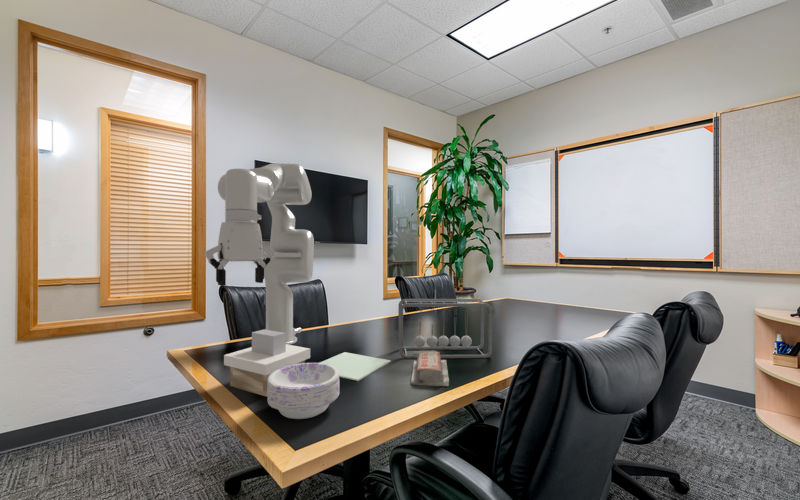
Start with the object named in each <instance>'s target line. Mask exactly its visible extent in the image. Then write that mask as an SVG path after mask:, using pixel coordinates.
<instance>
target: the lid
mask: <svg viewBox="0 0 800 500" xmlns="http://www.w3.org/2000/svg"><path fill="white" fill-rule="evenodd" d="M308 359H311V348H308V347H303V346H297V345H293V344H290V345H288V344H286V333H283V332H277V331H271V330H266V328H264V329H260V330H255V331H252V332H251V346H250V347H247V348H244V349H240V350H237V351H234V352H230V353H226V354H224V355H223V366H226V367H234V368H238V369H242V370H246V371H250V372H254V373H258V374H262V375H268V374H271V373H273V372H274V371H276V370H278V369H280V368H283V367H286V366H290V365H294V364H296V363H299V362H301V361H304V360H305V361H306V360H308Z"/></svg>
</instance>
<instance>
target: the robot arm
mask: <svg viewBox="0 0 800 500" xmlns="http://www.w3.org/2000/svg"><path fill="white" fill-rule="evenodd" d="M217 182H218V183H217V192H218V194H219V196H220V199H222V200H224V201H225V203H224V205H225V207H224V208H225V213H224V214H225V215H224V217H225V219H224V220H225V221H224V222H223V221H222V222H221V224H220V228H219V234H218V241H217V245H216V246H214V247H212V248H209V249H208V250H205V251H204V252H203V254H204V256H205V257H206V259H207V261H208V263H209V264H210V265H211V266H212V267H214V270H215V281H216V282H217V286H226V275H227V273H226V271H227V270H226V269H224V268H225V267H226V266H227V264H228V263H229V262H253V263H254V264H255V265H256V267H255V271H254V273H255V274H254V276H255V277H254V279H255V280H254V282H255V283H259V284H263V283H265V330H271V331H277V332H283V333H286V344H288V345H293V344H296V343H297V342H298V337H297V336H296V335H297V334H299V333H301V332H303V331H302V328H301V327H296V328H295V327H294V294H293V292H292V289H291V288H290V287H289V285H288V284H289V283H292V284H293V283H295V284H297V283H300V284H301V283H309V282H310V281H311V280H312V278H313V271H314V255H315V254H314V253H315V239H314V234H313V233H312V231H310V230H308V229H298V228H297V229H296V216H295V215H294V213H293V212H292V211H291V210H290V209H289V208H288V206H286V205H289V206H292V205H293V206H294V205H295V206H304V205H305V206H306V205H308V204H309V203H310V202H311V200H312V196H313V195H312V194H313V193H312V189H311V184H310V181H309V178H308V176H307V173H306V170H305V169H304V167H303V166H302V165H301V164H298V163H282V162H281V163H280V162H276V163H274V162H273V163H269V164H266V165H263V166H261V167H256V168H249V169H247V168H246V169H245V168H231V169H228V170H226V173H225V174H223V175H222V176H221V177H220V179H219V181H217ZM258 203H266V204H267V207H268V209H269V212H270V214H271V230H270V241H269V242H270V244H269V245H270V249H269V247H268V248H267V247H266V246H264V245H263V238H262V237H263V235H262V230H261V226H260V223H258V221H261V220H262V215H261V214H259V212H258ZM263 253H264V254H265V257H264V258H263ZM215 254H217V259H218V260H217V259H216V258H215V257H214V255H215ZM274 254H277V255H299V256H273V255H274Z"/></svg>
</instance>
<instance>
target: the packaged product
mask: <svg viewBox="0 0 800 500" xmlns="http://www.w3.org/2000/svg"><path fill="white" fill-rule="evenodd" d="M417 355H418V357H417V359H416V360H413V365H412V374H411V379H410V384H411V385H412V386H425V387H426V386H427V387H428V386H430V387H449V385H450V378H449V370H448V365H447V359H442V358H441V357H440V355H441V353H440V351H437V350H428V351H424V352H420V353H419V354H417Z"/></svg>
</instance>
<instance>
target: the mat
mask: <svg viewBox="0 0 800 500" xmlns="http://www.w3.org/2000/svg"><path fill="white" fill-rule="evenodd" d="M319 363H323V364H328V365H331V366H333V367H335V368H337V369H338V371H339V378H342V379H347V380H352V381H356V382H359V381H361V380H362V379H364V378H366V377H368V376H369V375H371V374H373V373H375V372H376V371H378V370H380V369H381V368H384V367H385V366H387V365H388V364H390V363H392V360H390V359H385V358H380V357H374V356H367V355H363V354H358V353H357V354H356V353H351V352H346V351H344V352H342V353H339V354H337V355H334V356H332V357H330V358H328V359H325V360H323V361H319Z"/></svg>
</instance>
